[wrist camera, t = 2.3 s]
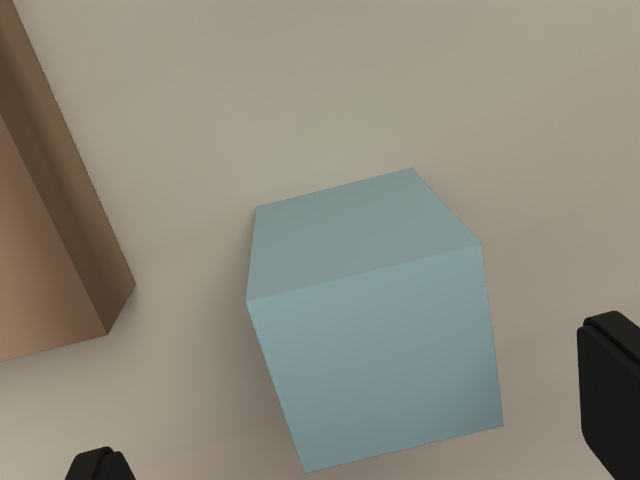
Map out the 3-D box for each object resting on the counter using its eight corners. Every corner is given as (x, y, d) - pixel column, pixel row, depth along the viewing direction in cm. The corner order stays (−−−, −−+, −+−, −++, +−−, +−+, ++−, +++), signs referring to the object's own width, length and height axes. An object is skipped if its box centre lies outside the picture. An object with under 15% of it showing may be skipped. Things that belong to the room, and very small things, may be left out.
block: (411, 167, 16) (481, 243, 11) (434, 301, 18) (503, 425, 12) (256, 206, 16) (244, 302, 11) (296, 336, 18) (304, 473, 13)
